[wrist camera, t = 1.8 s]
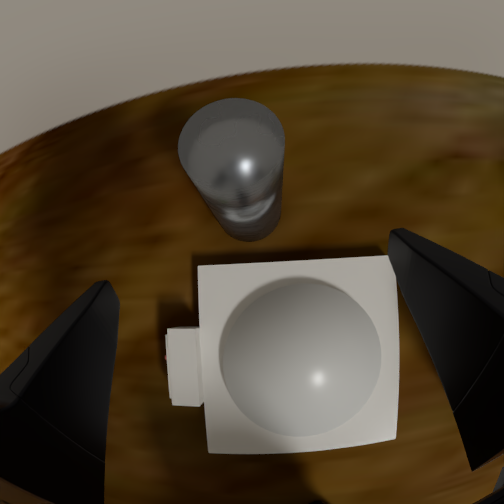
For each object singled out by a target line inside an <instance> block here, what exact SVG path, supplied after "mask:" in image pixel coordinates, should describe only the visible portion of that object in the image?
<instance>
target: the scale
mask: <svg viewBox="0 0 504 504" xmlns="http://www.w3.org/2000/svg"><path fill="white" fill-rule="evenodd" d="M198 298H199V325H200V327H174V328H168V329H167V335H165V336H166V354H167V355H166V356H165V360H167V369H168V383H169V395H170V398H172V405H178V406H196V407H200V406H201V405H202V403H203V402H204V409H205V421H206V433H207V444H208V453H219V454H276V453H295V452H309V451H320V450H329V449H337V448H345V447H352V446H359V445H365V444H371V443H376V442H382V441H387V440H392V439H396V428H397V414H398V394H399V321H398V301H397V286H396V276H395V273H394V271H393V268H392V265H391V263H390V260H389V257H388V255H385V256H369V257H352V258H335V259H318V260H300V261H282V262H264V263H244V264H224V265H204V266H198Z"/></svg>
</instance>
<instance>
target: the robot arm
mask: <svg viewBox="0 0 504 504" xmlns="http://www.w3.org/2000/svg"><path fill="white" fill-rule="evenodd" d="M388 257H389V260H390V263H391V265H392V268H393V271H394V273H395V276H396V278H397V281H398V284H399V286H400V289H401V292H402V294H403V297H404V299H405V301H406V304H407V306H408V308H409V310H410V312H411V314H412V316H413V318H414V320H415V322H416V324H417V327H418V329H419V331H420V333H421V335H422V337H423V340H424V342H425V344H426V346H427V349H428V351H429V353H430V356H431V358H432V360H433V363H434V365H435V367H436V370H437V372H438V375H439V377H440V380H441V382H442V385H443V387H444V390H445V392H446V395H447V398H448V400H449V403H450V406H451V409H452V411H453V415H454V417H455V420H456V423H457V426H458V429H459V432H460V435H461V438H462V441H463V444H464V448H465V451H466V454H467V457H468V461H469V464H470V467H471V470H472V471H474V470H476V469H478V468H480V467H482V466H484V465H485V464H487V463H489V462H491V461H492V460H494V459H496V458H498V457H499V456H501V455H503V454H504V278H503V277H501V276H499V275H497V274H495V273H493V272H491V271H488V270H487V269H486V268H484V267H482V266H480V265H478V264H476V263H474V262H472V261H470V260H468V259H466V258H465V257H463V256H461V255H459V254H457V253H455V252H453V251H451V250H449V249H446V248H444V247H442V246H440V245H438V244H436V243H434V242H432V241H430V240H428V239H426V238H424V237H421V236H419V235H417V234H415V233H413V232H411V231H408V230H406V229H404V228H398V229H393V230H391V231H390V235H389V245H388ZM119 309H120V302H119V299H118V297H117V295H116V293H115V291H114V289H113V287H112V286H111V284H110V282H109V281H107V280H104V281H98V282H96V283H94V284H93V285H92V286H91V287H90V288H89V289H88V290H87V291H86V292H85V293H83V294H82V295H81V296H80V297H79V298H78V299H77V300H76V301H75V302H74V303H73V304H72V305H71V306H70V307H68V308H67V309H66V310H65V311H64V312H63V313H62V314H61V315H60V316H59V317H58V318H57V319H56V320H55V321H54V322H53V323H52V324H51V325H50V326H49V327H48V328H47V329H46V330H45V331H44V332H43V333H42V334H41V335H40V336H39V337H38V338H37V339H36V340H35V341H34V342H33V343H32V344H31V345H30V347H28V348H27V349H26V350H25V351H24V352H23V353H22V354H21V355H20V356H19V357H18V358H17V359H16V360H15V361H14V362H13V363H12V364H11V365H10V366H9V367H8V368H7V369H6V370H5V371H4V372H2V373H1V374H0V504H104V477H105V450H106V435H107V423H108V412H109V402H110V393H111V385H112V377H113V370H114V363H115V356H116V349H117V339H118V323H119ZM309 504H323V503H322V502H321V501H314V502H312V503H309ZM473 504H504V467H503V468H502V470H501V473H500V475H499V478H498V481H497V483H496V485H495V488H494V490H493V493H491V494H489V495H487V496H486V497H484V498H482V499H480V500H479V501H477V502H475V503H473Z"/></svg>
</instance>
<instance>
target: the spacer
mask: <svg viewBox="0 0 504 504" xmlns="http://www.w3.org/2000/svg"><path fill="white" fill-rule="evenodd" d="M284 145H285V138H284V131H283V128H282V125H281V123H280V121H279V119H278V118H277V117H276V115H275V114H274V113H273V112H272V111H271V110H269V109H268V108H267V107H265V106H264V105H262V104H260V103H258V102H255V101H252V100H248V99H242V98H229V99H223V100H219V101H215V102H213V103H210V104H208V105H206V106H204V107H203V108H201V109H200V110H198V111H197V112H196V113H195V114H194V115H193V116H192V117H191V118H190V119H189V120H188V121H187V123H186V124H185V126H184V127H183V129H182V132H181V134H180V137H179V142H178V154H179V158H180V161H181V164H182V166H183V168H184V169H185V171H186V172H187V174H188V176H189V177H190V179H191V180H192V182H193V183H194V185H195V186H196V188H197V189H198V191H199V193H200V194H201V196H202V197H203V199H204V200H205V202H206V203H207V205H208V206H209V208H210V209H211V211H212V212H213V214H214V216H215V217H216V219H217V220H218V222H219V223H220V225H221V226H222V228H223V229H224V230H225V232H226V233H227V234H228V235H230V236H231V237H233V238H235V239H237V240H240V241H245V242H252V241H258V240H261V239H263V238H265V237H267V236H268V235H269V234H270V233H272V232H273V230H274V229H275V228H276V226H277V225H278V222H279V219H280V215H281V201H282V183H283V165H284Z"/></svg>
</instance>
